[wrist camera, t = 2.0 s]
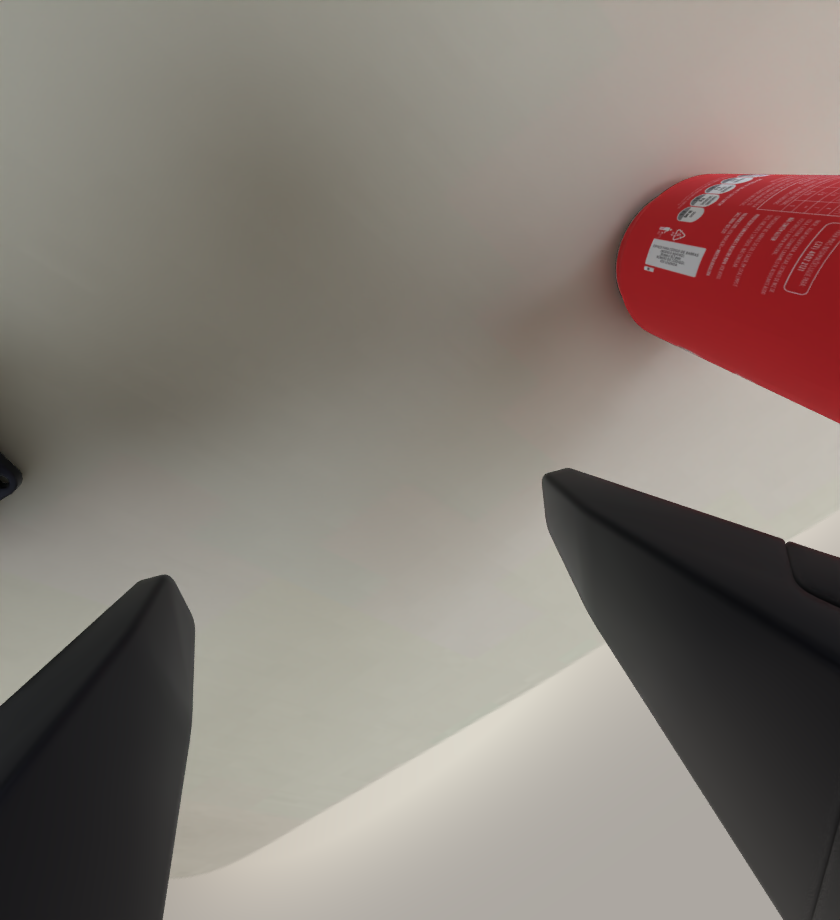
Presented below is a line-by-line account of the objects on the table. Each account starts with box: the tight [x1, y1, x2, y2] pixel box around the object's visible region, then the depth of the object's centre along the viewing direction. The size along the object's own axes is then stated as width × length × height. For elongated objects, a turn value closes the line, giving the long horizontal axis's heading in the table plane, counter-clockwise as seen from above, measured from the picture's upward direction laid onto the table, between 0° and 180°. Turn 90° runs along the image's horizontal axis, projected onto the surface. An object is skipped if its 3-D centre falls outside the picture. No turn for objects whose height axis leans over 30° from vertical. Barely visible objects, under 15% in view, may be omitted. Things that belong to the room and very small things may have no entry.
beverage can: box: [615, 174, 840, 423], centre depth 15 cm, size 5×5×12 cm
